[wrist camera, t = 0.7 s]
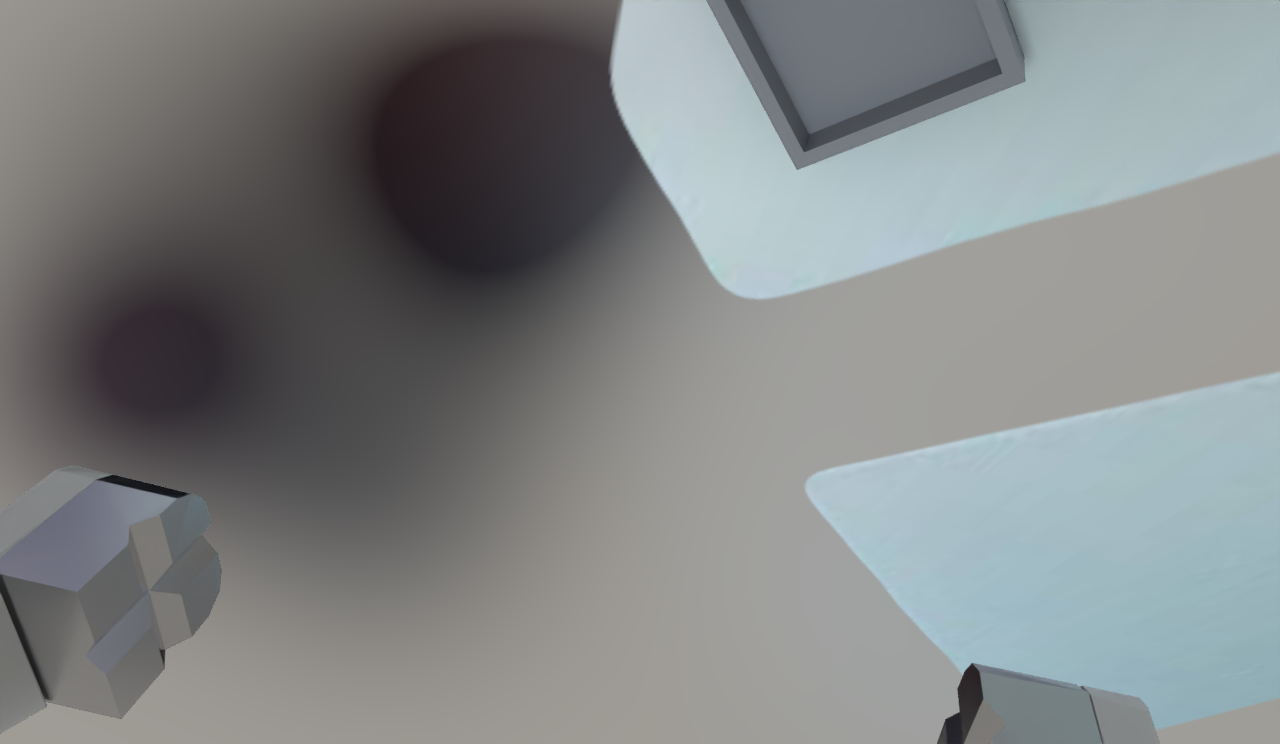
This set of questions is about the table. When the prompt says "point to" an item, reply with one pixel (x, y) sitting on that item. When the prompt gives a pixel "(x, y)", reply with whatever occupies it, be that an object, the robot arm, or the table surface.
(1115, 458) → the table surface
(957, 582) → the table surface
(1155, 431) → the table surface
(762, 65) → the tray
